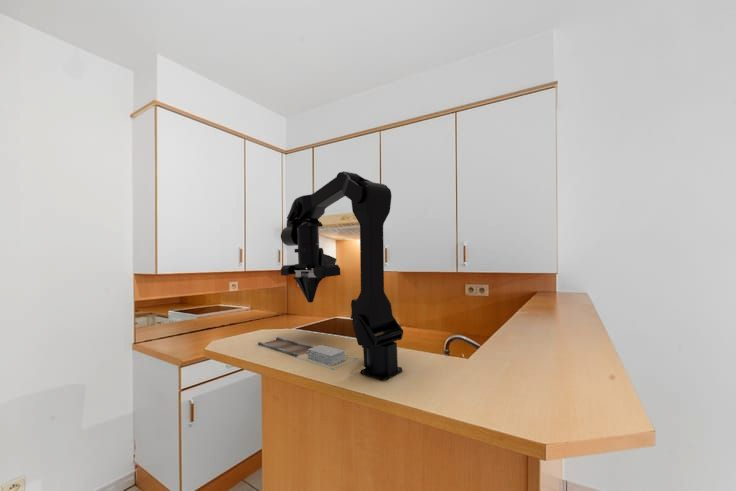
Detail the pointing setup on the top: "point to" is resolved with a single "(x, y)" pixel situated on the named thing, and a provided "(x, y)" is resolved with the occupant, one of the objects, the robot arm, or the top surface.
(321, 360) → the near chip
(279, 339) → the slot board
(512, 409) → the top surface
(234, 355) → the top surface
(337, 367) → the tray
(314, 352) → the pale grey block
